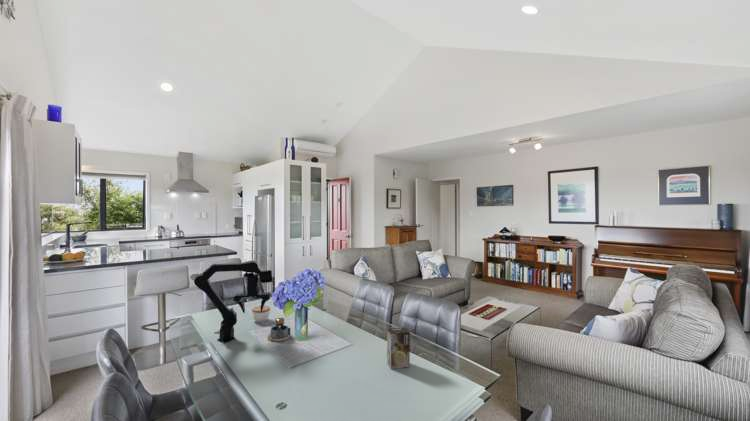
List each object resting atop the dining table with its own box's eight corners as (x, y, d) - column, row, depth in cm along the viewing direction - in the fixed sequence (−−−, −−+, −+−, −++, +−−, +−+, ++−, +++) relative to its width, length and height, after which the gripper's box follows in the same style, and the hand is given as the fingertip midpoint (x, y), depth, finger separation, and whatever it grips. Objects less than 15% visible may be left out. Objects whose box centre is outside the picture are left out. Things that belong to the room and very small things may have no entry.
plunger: (279, 338, 171) (280, 322, 171) (270, 336, 174) (270, 320, 174) (288, 334, 177) (288, 318, 177) (279, 332, 180) (279, 316, 180)
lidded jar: (266, 323, 195) (266, 308, 195) (248, 323, 195) (249, 308, 195) (272, 318, 206) (272, 303, 206) (255, 317, 206) (256, 302, 206)
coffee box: (404, 361, 151) (405, 327, 151) (409, 367, 145) (410, 332, 145) (386, 363, 149) (387, 328, 149) (390, 369, 143) (391, 333, 143)
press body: (280, 343, 168) (280, 333, 168) (262, 338, 173) (263, 329, 173) (295, 335, 178) (295, 326, 178) (278, 331, 184) (278, 322, 184)
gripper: (272, 280, 185) (273, 306, 185) (238, 281, 183) (239, 308, 183) (269, 284, 174) (269, 313, 174) (232, 286, 172) (233, 315, 172)
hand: (252, 312), depth 176 cm, fingers open, 9 cm apart
